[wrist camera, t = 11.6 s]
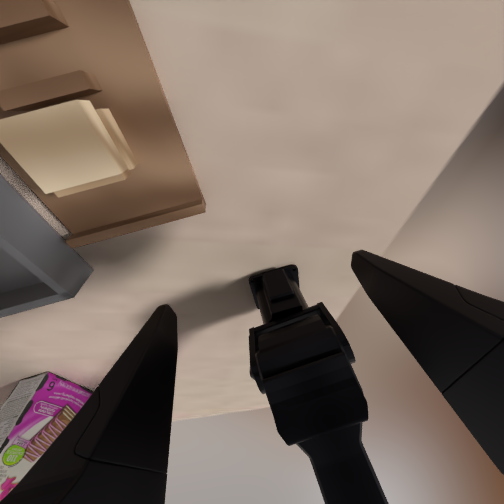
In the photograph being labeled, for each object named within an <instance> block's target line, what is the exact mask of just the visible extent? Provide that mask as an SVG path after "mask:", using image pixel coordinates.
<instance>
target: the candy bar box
mask: <svg viewBox="0 0 504 504" xmlns="http://www.w3.org/2000/svg"><path fill="white" fill-rule="evenodd" d="M92 393H93V392H92V391H90V390H88V389H86V388H83V387H81V386H79V385H77V384H75V383H72V382H70V381H68V380H66V379H63V378H61V377H59V376H57V375H55V374H52V373H50V372H45V373H41V374H39V375H36V376H33V377H30V378H26V379H23V380H21V381H19V383H18V384H17V385H16V387H15V388H14V390H13V391H12V393H11V394H10V395H9V397H8V398H7V400H6V401H5V403H4V404H3V406H2V407H1V408H0V501H1V500H2V499H3V498H4V497H5V496H6V495H7V494H8V493H9V492H10V491H11V490H12V489H13V488H14V487H15V486H16V485H17V484H18V483H19V482H20V480H21V479H22V478H23V477H24V476H25V475H26V474H27V472H28V471H29V470H30V469H31V468H32V466H33V465H34V464H35V463H36V462H37V460H38V459H39V458H40V457H41V456H42V455H43V453H44V452H45V451H46V450H47V449H48V447H49V446H50V445H51V444H52V443H53V442H54V440H55V439H56V438H57V437H58V436H59V434H60V433H61V432H62V431H63V430H64V428H65V427H66V426H67V425H68V424H69V422H70V421H71V420H72V419H73V418H74V416H75V415H76V414H77V413H78V411H79V410H80V409H81V408H82V406H83V405H84V404H85V402H86V401H87V400H88V399H89V397H90V396H91V395H92Z"/></svg>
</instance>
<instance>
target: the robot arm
mask: <svg viewBox="0 0 504 504" xmlns="http://www.w3.org/2000/svg"><path fill="white" fill-rule="evenodd" d="M293 268H294V269H293ZM351 268H352V270H353V272H354V273H355V275H356V277H357V278H358V280H359V282H360V283H361V285H362V287H363V288H364V290H365V292H366V293H367V295H368V296H369V298H370V299H371V301H372V302H373V303H374V305H375V306H376V307H377V309H378V310H379V311H380V312H381V314H382V315H383V316H384V318H385V319H386V321H387V322H388V323H389V324H390V326H391V327H392V328H393V330H394V331H395V332H396V334H397V335H398V336H399V338H400V339H401V340H402V342H403V343H404V344H405V346H406V347H407V348H408V350H409V351H410V352H411V354H412V355H413V356H414V358H415V359H416V360H417V362H418V363H419V364H420V366H421V367H422V368H423V370H424V371H425V372H426V374H427V375H428V376H429V378H430V379H431V380H432V381H433V383H434V384H435V386H436V387H437V388H438V390H439V391H440V392H441V393H442V395H443V396H444V398H445V399H446V400H447V402H448V403H449V404H450V406H451V407H452V408H453V410H454V411H455V412H456V414H457V415H458V416H459V418H460V419H461V420H462V421H463V423H464V424H465V426H466V427H467V428H468V430H469V431H470V432H471V434H472V435H473V436H474V438H475V439H476V440H477V442H478V443H479V444H480V446H481V447H482V448H483V450H484V451H485V452H486V453H487V455H488V456H489V458H490V459H491V460H492V461H493V463H494V464H495V465H496V467H497V468H498V469H499V470H500V471H501V473H502V474H503V475H504V302H502V301H500V300H496V299H493V298H491V297H487V296H485V295H482V294H479V293H477V292H474V291H471V290H468V289H466V288H463V287H460V286H457V285H454V284H452V283H449V282H447V281H444V280H441V279H439V278H436V277H434V276H431V275H428V274H426V273H423V272H420V271H417V270H415V269H412V268H410V267H407V266H404V265H402V264H399V263H396V262H394V261H391V260H388V259H386V258H383V257H380V256H378V255H375V254H372V253H370V252H367V251H364V250H359V251H355V252H353V254H352V261H351ZM249 284H250V287H251V290H252V293H253V296H254V300H255V303H256V306H257V308H258V309H260V312H261V316H262V320H263V324H264V325H261V326H258V327H256V328H254V327H253V328H251V329H249V333H250V336H249V351H250V376H251V378H253V379H254V380H255V381H256V383H257V386H258V388H259V390H260V392H261V393H262V394H265V393H266V395H267V398H268V401H269V404H270V407H271V410H272V413H273V416H274V420H275V423H276V427H277V431H278V433H279V434H280V436H281V437H282V438H283V440H284V441H285V442H286V444H287V445H289V446H290V445H293V444H297V445H298V446H299V447H300V448H301V449H302V450H303V451H304V452H305V453H306V454H307V456H309V458H310V461H311V464H312V466H313V469H314V472H315V475H316V478H317V481H318V484H319V487H320V490H321V493H322V496H323V499H324V502H325V504H388V502H387V499H386V497H385V495H384V492H383V490H382V488H381V486H380V483H379V481H378V478H377V476H376V474H375V472H374V469H373V467H372V465H371V462H370V460H369V458H368V455H367V453H366V451H365V448H364V447H363V444H362V441H361V437H362V422H364V421H367V420H368V406H367V401H366V399H365V397H364V395H363V391H362V388H361V386H360V384H359V382H358V380H357V377H356V375H355V373H354V370H353V368H352V366H351V364H352V363H355V357H354V354H353V351H352V349H351V347H350V344H349V342H348V340H347V339H346V337H345V335H344V333H343V332H342V330H341V328H340V327H339V325H338V324H337V322H336V321H335V320H334V318H333V317H332V315H331V314H330V313H329V311H328V310H327V308H326V307H325V306H324V304H323V303H322V302H320V303H317V305H314V306H312V307H308V305H307V303H306V301H305V299H304V297H303V295H302V293H301V291H300V289H299V278H298V268H297V266H296V265H291V266H287V267H284V268H280V269H276V270H273V271H269V272H266V273H262V274H258V275H255V276H251V277H250V278H249ZM177 352H178V338H177V316H176V314H175V312H174V311H173V310H172V308H171V307H170V306H169V305H168V304H165V305H161V306H159V307H158V308H157V309H156V310H155V312H154V313H153V314H152V316H151V317H150V318H149V320H148V321H147V322H146V323H145V325H144V326H143V327H142V329H141V330H140V331H139V333H138V334H137V335H136V337H135V338H134V339H133V341H132V342H131V343H130V345H129V346H128V347H127V349H126V350H125V351H124V352H123V354H122V355H121V356H120V358H119V359H118V360H117V362H116V363H115V364H114V366H113V367H112V368H111V370H110V371H109V372H108V374H107V375H106V376H105V378H104V379H103V380H102V382H101V383H100V384H99V386H98V387H97V388H96V389H95V391H94V392H93V393H92V395H91V396H90V397H89V399H88V400H87V401H86V402H85V404H84V405H83V406H82V408H81V409H80V410H79V411H78V413H77V414H76V415H75V416H74V418H73V419H72V420H71V421H70V422H69V424H68V425H67V426H66V427H65V428H64V430H63V431H62V432H61V433H60V434H59V436H58V437H57V438H56V439H55V440H54V442H53V443H52V444H51V445H50V446H49V447H48V449H47V450H46V451H45V452H44V453H43V455H42V456H41V457H40V458H39V459H38V460H37V462H36V463H35V464H34V465H33V466H32V468H31V469H30V470H29V471H28V472H27V474H26V475H25V476H24V477H23V478H22V479H21V480H20V482H19V483H18V484H17V485H16V486H15V487H14V488H13V489H12V490H11V491H10V492H9V493H8V494H7V495H6V496H5V497H4V498H3V499H2V500H1V501H0V504H165V492H166V481H167V474H166V473H167V467H168V456H169V444H170V433H171V422H172V410H173V399H174V387H175V376H176V364H177Z"/></svg>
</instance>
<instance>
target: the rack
mask: <svg viewBox="0 0 504 504" xmlns="http://www.w3.org/2000/svg"><path fill="white" fill-rule="evenodd" d="M73 100H88V101H90V102H91V104H92V105H93V107H94V109H95V110H96V109H109V110H110V112H111V114H112V116H113V117H114V119H115V121H116V123H117V125H118V127H119V129H120V131H121V132H122V134H123V136H124V138H125V140H126V142H127V144H128V146H129V147H130V149H131V151H132V153H133V155H134V157H135V159H136V161H137V162H138V164H139V165H137V166H136V167H135V168H134V169H131V170H129V171H130V173H131V175H130V176H129V177H128V178H126V179H125V180H122V181H118V182H115V183H111V184H107V185H104V186H100V187H96V188H92V189H89V190H85V191H81V192H77V193H74V194H70V195H66V196H63V197H59V198H58V197H57V196H56V194H55V193H54V192H52V193H48V194H45V193H44V192H43V191H42V189H41V188H40V187H39V186H38V185H37V184H36V183H35V181H34V180H33V179H32V178H31V177H30V176H29V175H28V174H27V172H26V171H25V170H24V169H23V168H22V167H21V166H20V165H19V163H18V162H17V161H16V160H15V159H14V158H13V157H12V155H11V154H10V153H9V152H8V151H7V150H6V149H5V148H4V146H3V145H2V144H1V143H0V156H1V157H2V158H3V159H4V160H5V161H6V162H7V163H8V165H9V166H10V167H11V168H12V169H13V170H14V171H15V172H16V173H17V174H18V175H19V177H20V178H21V179H22V180H23V181H24V182H25V183H26V184H27V185H28V186H29V187H30V188H31V190H32V191H33V192H34V193H35V194H36V195H37V196H38V197H39V198H40V199H41V200H42V202H43V203H44V204H45V205H46V206H47V207H48V208H49V209H50V210H51V211H52V212H53V214H54V215H55V216H56V217H57V218H58V219H59V220H60V221H61V222H62V223H63V224H64V226H65V227H66V228H67V229H68V230H69V231H70V232H71V233H72V235H71V236H70V237H69V238H68V239H67V240H65V242H66V243H67V244H68V245H69V246H70V247H71V249H72V248H76V247H80V246H83V245H87V244H91V243H94V242H98V241H102V240H106V239H109V238H113V237H117V236H120V235H124V234H128V233H131V232H135V231H139V230H142V229H146V228H150V227H153V226H157V225H161V224H164V223H168V222H172V221H175V220H179V219H183V218H186V217H190V216H194V215H197V214H201V213H205V206H206V203H205V201H204V198H203V195H202V193H201V190H200V187H199V185H198V182H197V179H196V177H195V174H194V172H193V169H192V166H191V164H190V161H189V158H188V156H187V153H186V150H185V148H184V145H183V142H182V140H181V137H180V134H179V132H178V129H177V126H176V124H175V121H174V118H173V116H172V113H171V111H170V108H169V105H168V103H167V100H166V97H165V95H164V92H163V89H162V87H161V84H160V81H159V79H158V76H157V73H156V71H155V68H154V65H153V63H152V60H151V57H150V55H149V52H148V50H147V47H146V44H145V42H144V39H143V36H142V34H141V31H140V28H139V26H138V23H137V20H136V18H135V15H134V12H133V10H132V7H131V4H130V2H129V0H0V119H4V118H8V117H12V116H15V115H19V114H23V113H27V112H31V111H35V110H38V109H42V108H46V107H50V106H54V105H58V104H61V103H65V102H69V101H73Z"/></svg>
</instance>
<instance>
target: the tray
mask: <svg viewBox="0 0 504 504" xmlns="http://www.w3.org/2000/svg"><path fill="white" fill-rule="evenodd" d="M92 272H93V269H92V268H91V267H90V266H89V265H88V264H87V263H86V262H85V261H84V260H83V259H82V258H81V257H80V256H79V255H78V253H77V252H76V251H75V250H74V249H73V248H72V249H71V247H70V246H69V245H68V244H67V243H66V242H65V240H64V239H63V238H62V237H61V236H60V235H59V234H58V233H57V232H56V231H55V230H54V229H53V228H52V227H51V226H50V225H49V224H48V223H47V221H46V220H45V219H44V218H43V217H42V216H41V215H40V214H39V213H38V212H37V211H36V210H35V209H34V208H33V207H32V206H31V205H30V204H29V203H28V202H27V201H26V200H25V199H24V198H23V197H22V196H21V195H20V194H19V193H18V192H17V191H16V190H15V188H14V187H13V186H12V185H11V184H10V183H9V182H8V181H7V180H6V179H5V178H4V177H3V176H2V175H1V174H0V318H1V317H5V316H8V315H12V314H16V313H19V312H23V311H27V310H30V309H34V308H37V307H41V306H45V305H48V304H52V303H55V302H59V301H63V300H66V299H70V298H74V297H75V295H76V294H77V293H78V291H79V290H80V288H81V287H82V286H83V284H84V283H85V281H86V280H87V279H88V277H89V276H90V274H91V273H92Z"/></svg>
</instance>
